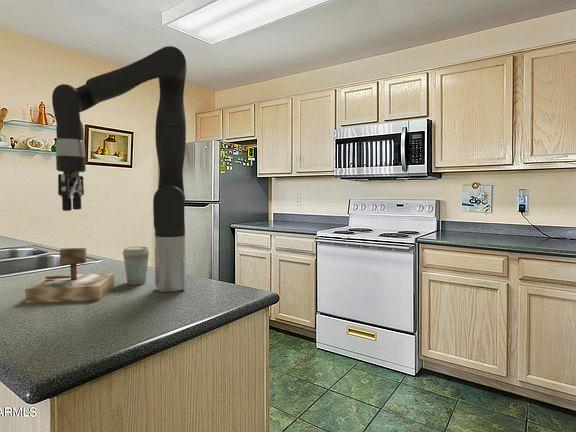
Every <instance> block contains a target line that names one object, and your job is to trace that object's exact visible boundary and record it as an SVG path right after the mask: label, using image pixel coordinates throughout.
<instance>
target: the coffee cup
mask: <svg viewBox="0 0 576 432" xmlns="http://www.w3.org/2000/svg"><path fill="white" fill-rule="evenodd" d="M122 255H123V260H124V261H123V262H124V267H125V268H124V269H125V270H124V271H125V276H126V282H127V285H130V286H131V285H135V286H137V285H144V284H146V282H147V273H148V263H149V255H150V250H149V247H148V246H128V247H125V248H123V251H122Z"/></svg>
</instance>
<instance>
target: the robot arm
mask: <svg viewBox="0 0 576 432" xmlns="http://www.w3.org/2000/svg"><path fill="white" fill-rule="evenodd" d="M187 66H188V65H187V58H186V56H185V54H184V53H183V51H182V50H180V48H178V47H176V46H172V45H167V46H163V47H161V48H160V49H157V50H155V51H154V52H152V53H150V54H149V55H147V56H145V57H143V58H140V59H139V60H136V61H135V62H132V63H129V64H127V65H125V66H123V67H120V68H117V69H114V70H111V71H108V72H105V73H102V74H99V75H96V76H93V77H90V78H89V79H87V80H85V84H83V85H81V86H78V87H76V88H75V87H74V86H73V85H70V84H66V83H62V84H58V85H57V86H56V87H55V88H54V89H53V91H52V95H51V103H52V109H53V113H54V118H55V123H56V127H55V130H56V131H55V132H56V142H55V162H56V171H57V172H63V173H62V174H61V173H58V175H57V179H58V180H57V182H58V183H57V185H58V186H57V188H58V189H57V191H58V192H57V194H58V196H60V198H62V199H61V205H62V208H61V209H62V211H64V212H67V211H68V212H69V211H72V210H81V209H82V197H83V196H85V189H84V186H85V185H84V176H83V175H80V173H85V172H86V171H87V169H86V147H85V134H84V133H85V132H84V131H85V130H84V125H83V122H82V121H81V117H80V116H81V115H80V114H81V113H82V112H85V111H87V110H89V109H91V108H93V107H94V106H96V105H98V104H99V103H101V102H106V101H108V100H111V99H114V98H117V97H120V96H122V95H124V94H126V93H128V92H130V91H131V90H133V89H134V88H135V89H136V88H137V87H138V86H140V85H141V84H143V83H146V82H149V81H151V80H155V79H158V83H159V86H158V87H159V102H158V106H157V112H156V119H155V133H154V134H155V137H154V138H155V149H156V157H157V162H158V169H159V175H158V177H159V178H158V187H157V190H156V191H155V193H154V195H153V200H152V202H153V203H152V206H153V207H152V210H153V228H154V263H155V265H154V270H155V271H154V278H155V279H154V280H155V281H154V284H155V291H157V292H164V293H170V292H178V291H185V290H186V284H187V283H186V282H187V281H186V280H187V279H186V278H187V276H186V274H187V273H186V271H187V269H186V266H187V265H186V262H187V261H186V260H187V259H186V223H185V204H186V195H185V187H184V175H183V174H184V162H185V156H186V155H185V154H186V144H187V143H186V141H187V139H186V138H187V137H186V136H187V122H186V111H185V105H184V103H185V101H184V96H185V95H184V93H185V84H186V76H187V73H188V72H187V71H188V70H187V69H188V68H187Z"/></svg>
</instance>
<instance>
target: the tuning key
mask: <svg viewBox="0 0 576 432" xmlns="http://www.w3.org/2000/svg"><path fill="white" fill-rule="evenodd" d="M59 259H60V260H59V262H60V263H59V264H60V265H70V267H69V268H70V275H71V276H50V275H49V276H45V278H44V279H61V278H71V280H76V279H77V274H78V273H77V272H78V270H77V267H78V266H77V265H80V264H81V265H83V264H85V263H87V247H74V248H73V247H68V248H67V247H63V248H60V249H59Z"/></svg>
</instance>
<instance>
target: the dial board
mask: <svg viewBox="0 0 576 432" xmlns="http://www.w3.org/2000/svg"><path fill="white" fill-rule="evenodd" d="M49 276H71V274H51V275H49ZM114 286H115V273H79V274H78V273H77V279H76V280H71V278H61V279H45V278H43V279H41V280H39V281H37V282H35V283H33V284H31V285H30V286H28V287H26V288H25V303H26V304H33V303H34V304H36V303H55V302H56V303H57V302H59V303H60V302H80V301H82V302H83V301H84V302H85V301H101V300H102V299H103V298H104V297H105V296H106V295H107V293H108V292H109V291H111V289H112V288H114Z"/></svg>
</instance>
